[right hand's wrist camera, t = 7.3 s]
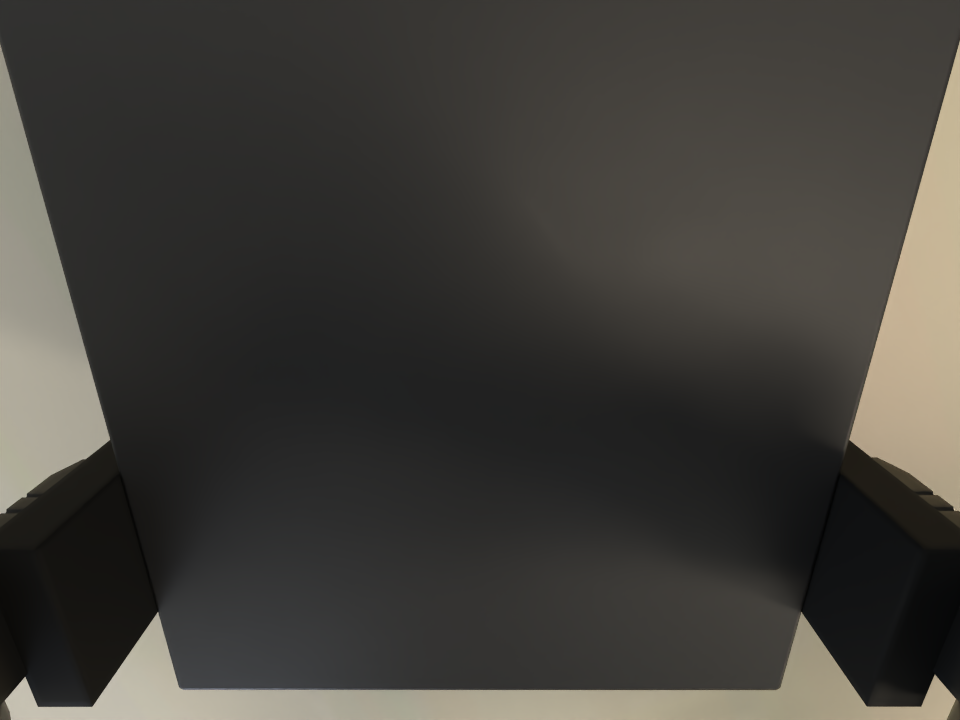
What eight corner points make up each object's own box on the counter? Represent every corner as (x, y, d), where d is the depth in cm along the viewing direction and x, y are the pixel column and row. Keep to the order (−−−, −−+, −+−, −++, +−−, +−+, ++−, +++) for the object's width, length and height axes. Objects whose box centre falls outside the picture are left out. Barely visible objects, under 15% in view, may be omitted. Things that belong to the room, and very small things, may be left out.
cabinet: (204, -406, 11) (-568, -1963, 3) (755, -407, 11) (1525, -1963, 3) (312, 448, 18) (177, 692, 10) (646, 449, 18) (781, 693, 10)
